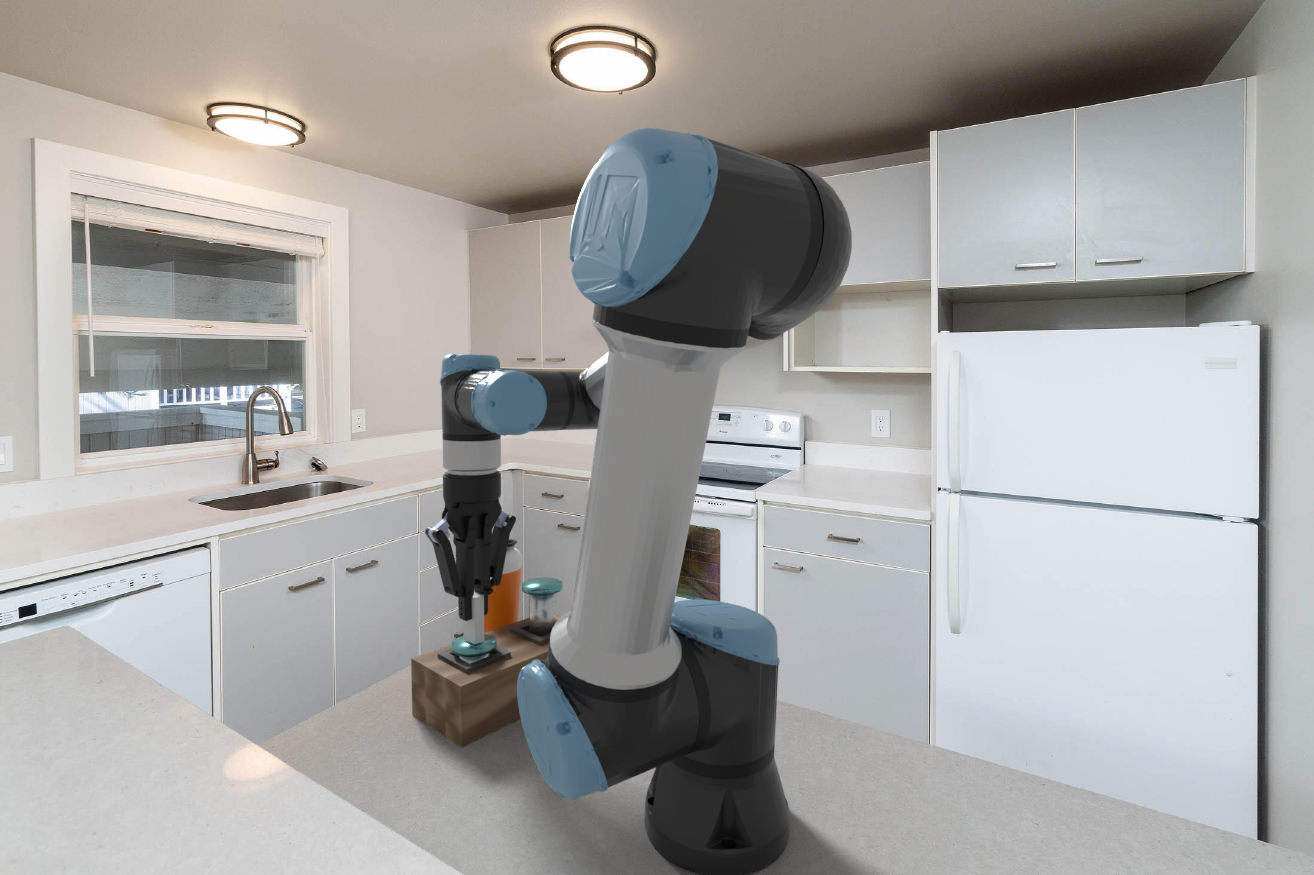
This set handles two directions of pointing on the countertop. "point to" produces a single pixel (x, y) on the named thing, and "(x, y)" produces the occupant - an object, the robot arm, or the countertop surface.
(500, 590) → the shaker bottle
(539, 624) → the peg right
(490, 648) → the peg left
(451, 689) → the socket block
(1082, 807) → the countertop surface
